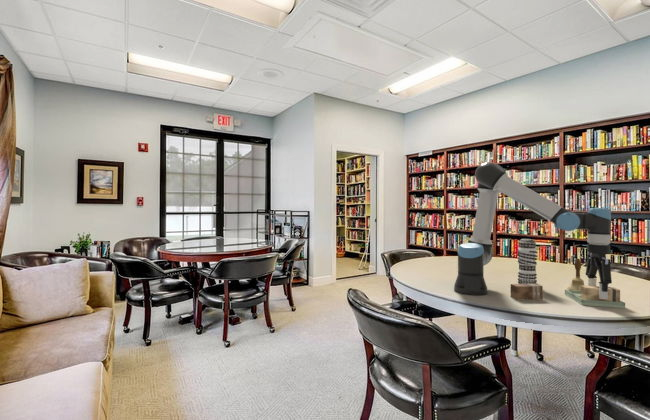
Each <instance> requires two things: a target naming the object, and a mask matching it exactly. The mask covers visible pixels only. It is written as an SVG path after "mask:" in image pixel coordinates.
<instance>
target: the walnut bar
mask: <svg viewBox="0 0 650 420" xmlns="http://www.w3.org/2000/svg"><path fill="white" fill-rule="evenodd" d="M543 294H544V293H543V285H540V284H538V283H537V284H519V283H510V298H512V297H513V298H512V299H514V298H515V300H517V299H518V300H519V299H520V300H519V301H522V300H521V299H525V300H543Z"/></svg>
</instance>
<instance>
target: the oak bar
mask: <svg viewBox="0 0 650 420" xmlns="http://www.w3.org/2000/svg"><path fill="white" fill-rule="evenodd" d="M581 298H582V299H585V300H599V301H613V302H620V301H621V289H619V288H616V287H612V286H608V299H599V285H598V286H597V285H596V286H588V285H584V286H582V285H581Z"/></svg>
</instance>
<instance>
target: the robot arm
mask: <svg viewBox="0 0 650 420" xmlns="http://www.w3.org/2000/svg"><path fill="white" fill-rule="evenodd" d="M474 171H475V173H474V177H475V180H476V182H477V189H476V190H478V192H479V195H478V199H477V200H478V201H477V208H476V211H475V212H476V213H475V219H474V224H473V229H472V236H471V237H470V238H468V240H467V242H466V243H460V244H459V245H458V247H457V277H456V279H455V282H454V286H453V290H454V292H457V293H459V294H463V295H464V294H465V295H470V296H482V295H487V294H488V286H487V283H486V280H485V278H484V277H485V276H484V266H486V265H488V264H489V263H490V262H491V261H492V258H493V250H492V249H493V242H492V240H491V237H492V236H491V235H492V230H493V225H494V219H495V215H496V208H497V203H498V197H499V194H504V195H506V196H507V197H509V198H510V199H512V200H514V201H515V202H517V203H518V204H521V205H522V206H524V207H525V208H527V209H529V210H531V211H532V212H533V213H535V214H537V215H538V216H541V217H543V218H544V219H545V220H546V221H549V222H551V223H552V224H553V227H555V229H560V230H562V231H565V232H570V231H571V232H573V231H575V230H585V231H586V230H587V233H586V234H587V236H586V237H587V248H586V250H587V253H589V254H587V261H586V268H585V276H587V279H588V280H587V281H588V284H587V286H597V278H598V277H597V273H598V276H599V282H598V284H599V285H598V287H599V299H608V287H609V284H612V281H613V280H612V271H611V259H609V258H607V255H609V254H611V245H610V244H611V239H612V236H611V233H612V232H611V230H612V211H611V210H610V209H609V208H603V207H602V208H601V207H600V208H599V207H598V208H597V207H596V208H595V207H594V208H593V207H591V208H590V207H589V208H588V210H587V212H575V211H574V212H573V211H570V210H569V209H566V208H565V207H563V206H561V205H559V204H558V203H555V202H554V201H552V200H551V199H548V198H546V197H545V196H543V195H542V194H540V193H538V192H537V191H534V190H533V189H531V188H529V187H527V186H526V185H524V184H522V183H521V182H519V181H517V180H515V179H513V178H511V177H510V176H509V175H508V173H507V172H506V170H505V168H503V166H501V165H500V164H496V163H495V162H489V161H488V162H484V163H481V164H479V166H477V168H476V169H475V170H474Z"/></svg>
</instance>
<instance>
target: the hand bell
mask: <svg viewBox="0 0 650 420" xmlns="http://www.w3.org/2000/svg"><path fill="white" fill-rule="evenodd" d="M574 269H575V277H574V278H572V279H571V284H570V285H569V286H568V287H567V289H566V290H577V291H581V285H582V286H585V283H584V282H585V281H584V280H583V279H582V278H581V270H582V262H581V260H580V258H576V259H575V261H574Z"/></svg>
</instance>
